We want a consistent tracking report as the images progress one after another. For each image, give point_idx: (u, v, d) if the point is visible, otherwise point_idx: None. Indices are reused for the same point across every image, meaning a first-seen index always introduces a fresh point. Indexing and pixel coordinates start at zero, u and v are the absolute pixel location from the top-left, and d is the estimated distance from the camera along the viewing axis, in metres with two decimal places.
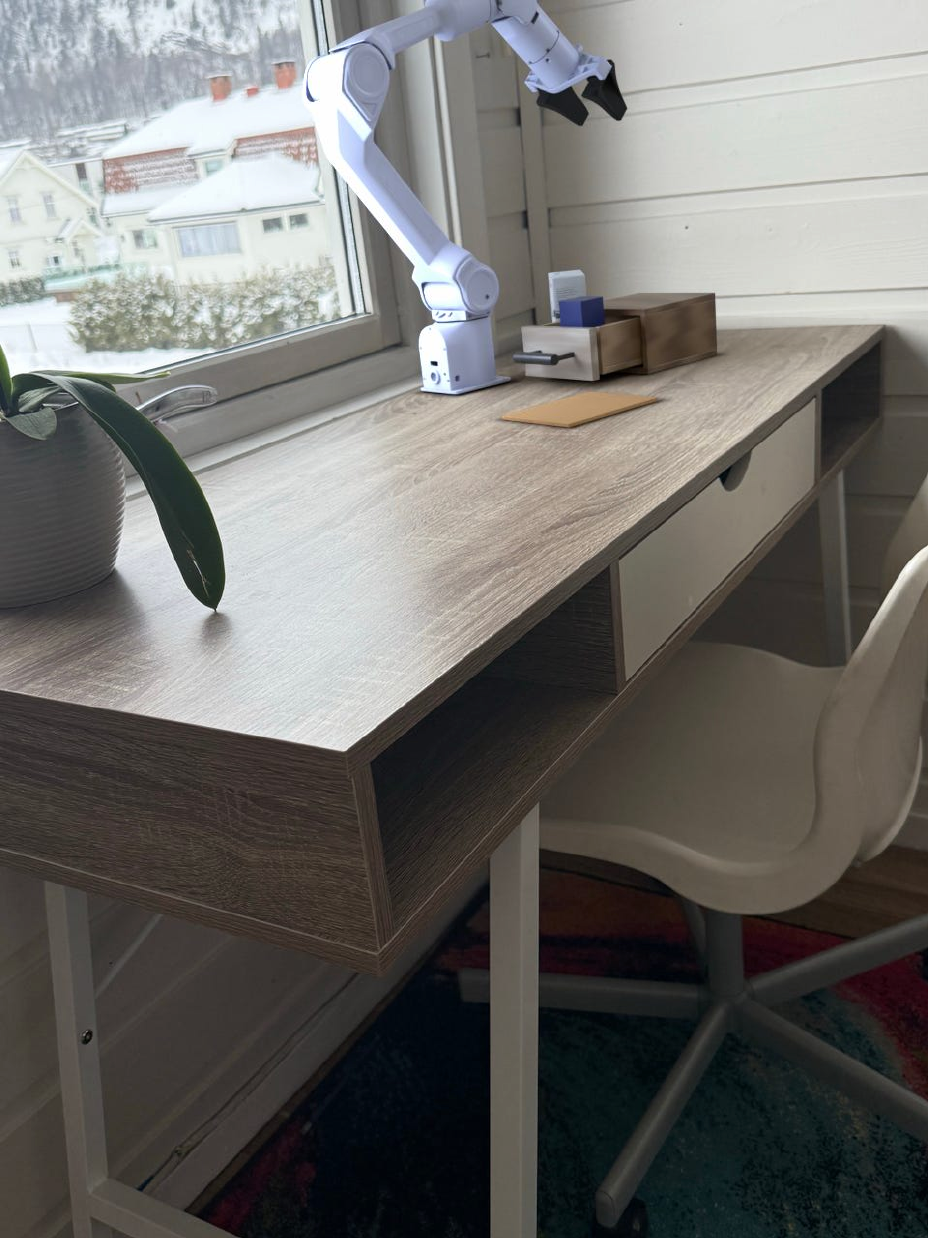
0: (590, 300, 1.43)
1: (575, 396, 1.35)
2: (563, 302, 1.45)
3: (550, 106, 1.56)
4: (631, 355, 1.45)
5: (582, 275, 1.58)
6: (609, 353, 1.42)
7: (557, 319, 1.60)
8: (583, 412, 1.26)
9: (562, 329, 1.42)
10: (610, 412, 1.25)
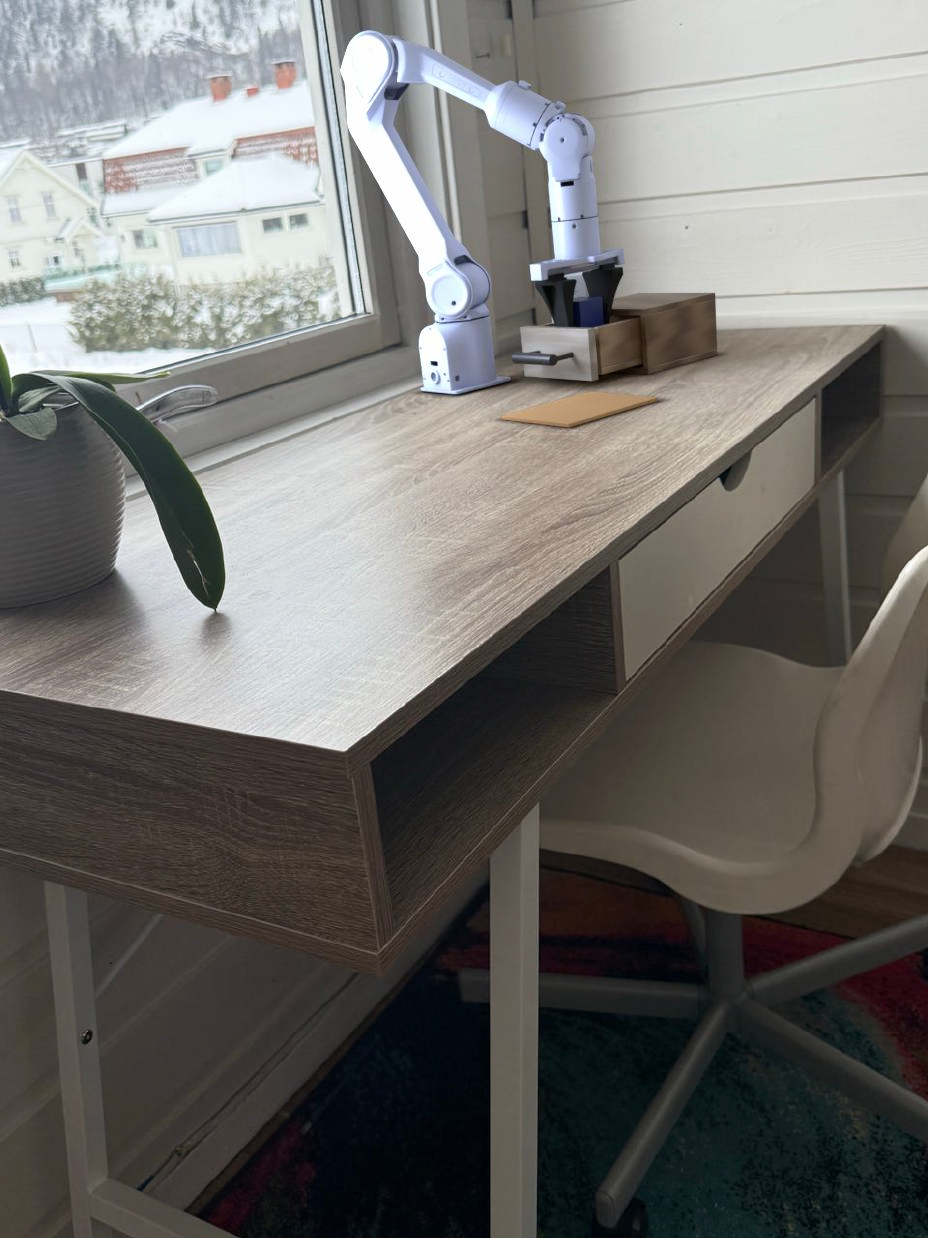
0: (589, 300, 1.43)
1: (575, 396, 1.35)
2: None
3: None
4: (630, 355, 1.45)
5: None
6: (607, 353, 1.42)
7: None
8: (583, 412, 1.26)
9: (561, 329, 1.42)
10: (610, 412, 1.25)
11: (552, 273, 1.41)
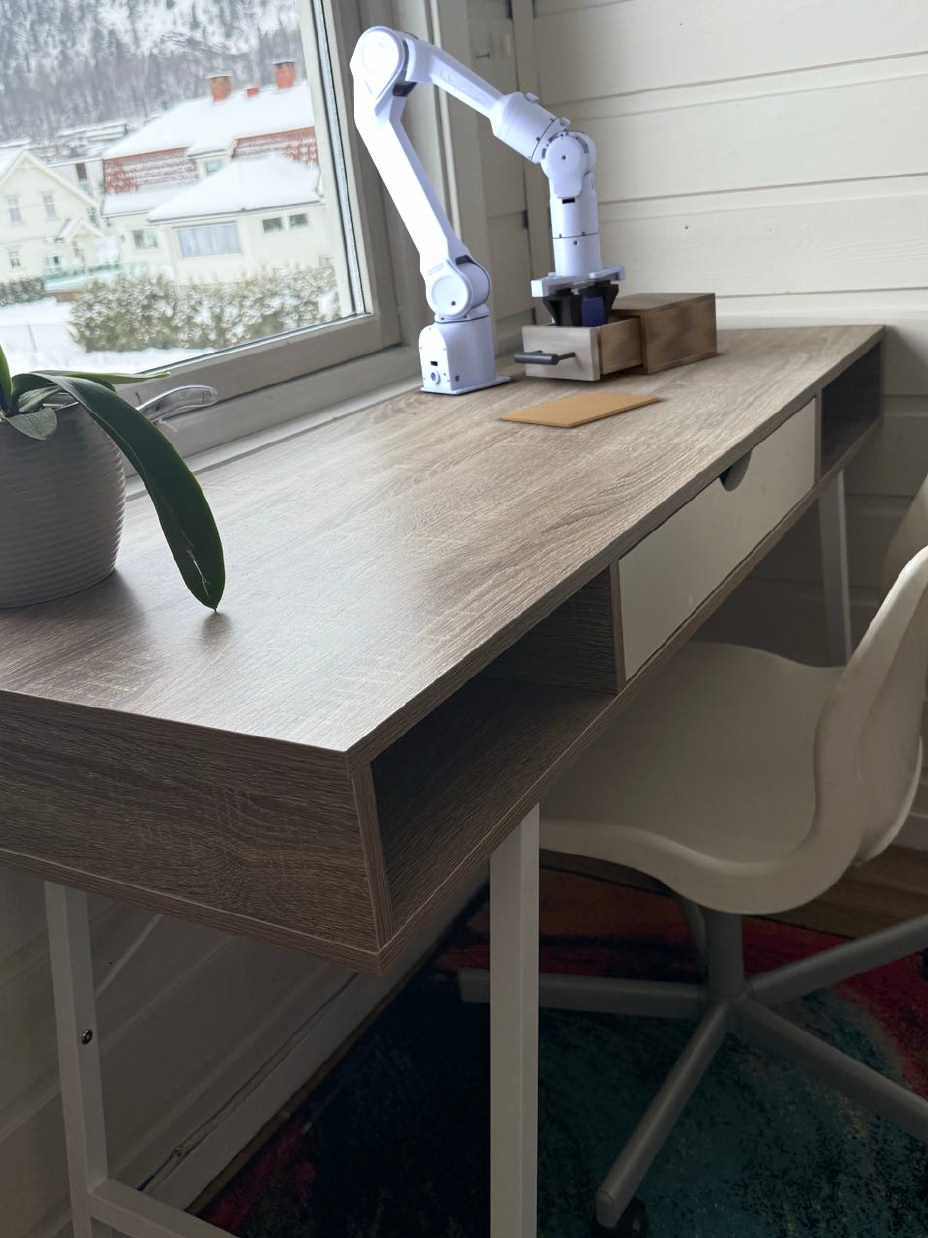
0: (590, 300, 1.43)
1: (575, 396, 1.35)
2: None
3: None
4: (631, 355, 1.45)
5: None
6: (609, 352, 1.42)
7: None
8: (583, 412, 1.26)
9: (563, 329, 1.42)
10: (610, 412, 1.25)
11: (559, 288, 1.42)
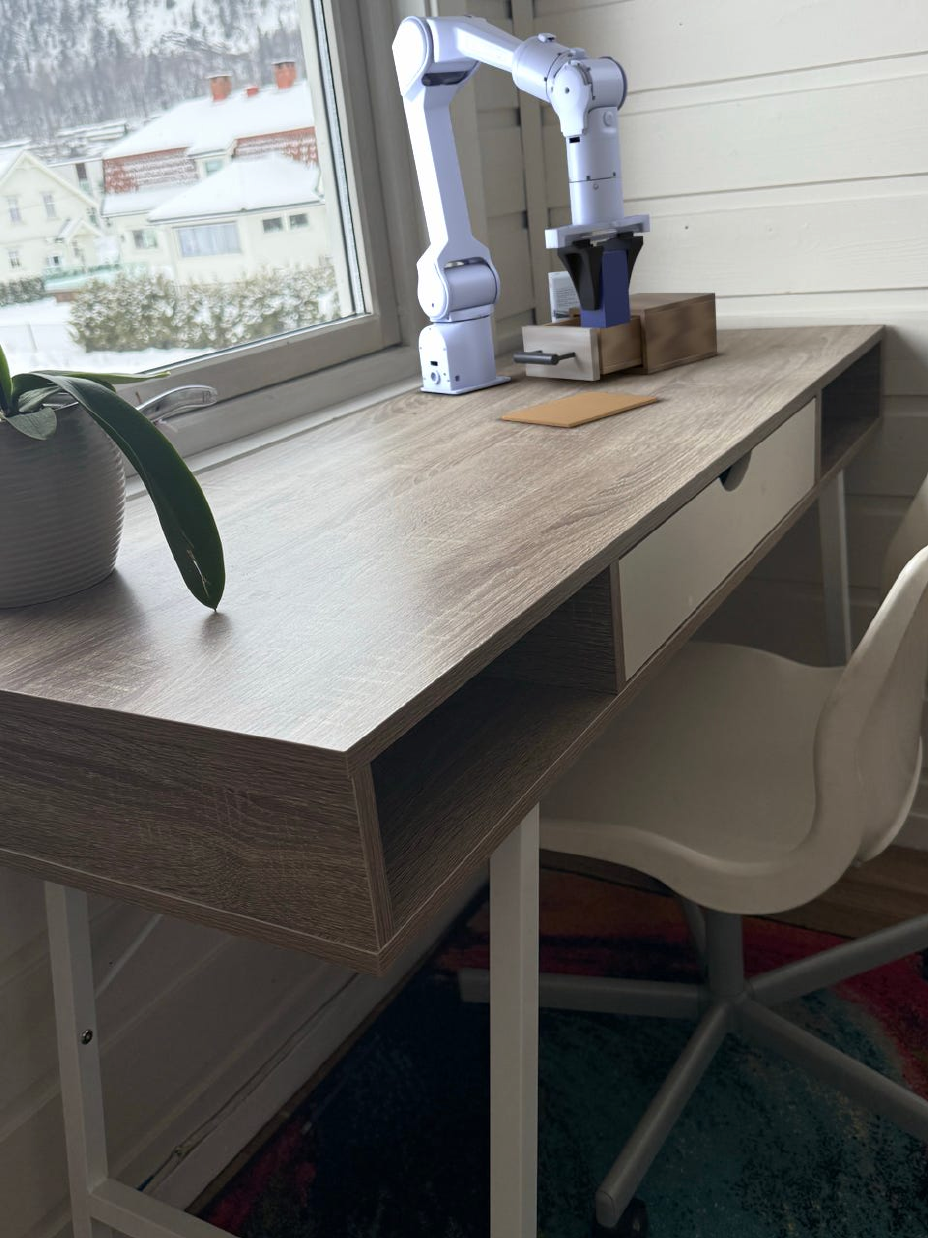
0: (612, 253, 1.27)
1: (575, 396, 1.35)
2: None
3: None
4: (631, 355, 1.45)
5: None
6: (609, 352, 1.42)
7: (557, 319, 1.60)
8: (583, 412, 1.26)
9: (563, 329, 1.42)
10: (610, 412, 1.25)
11: (577, 239, 1.25)
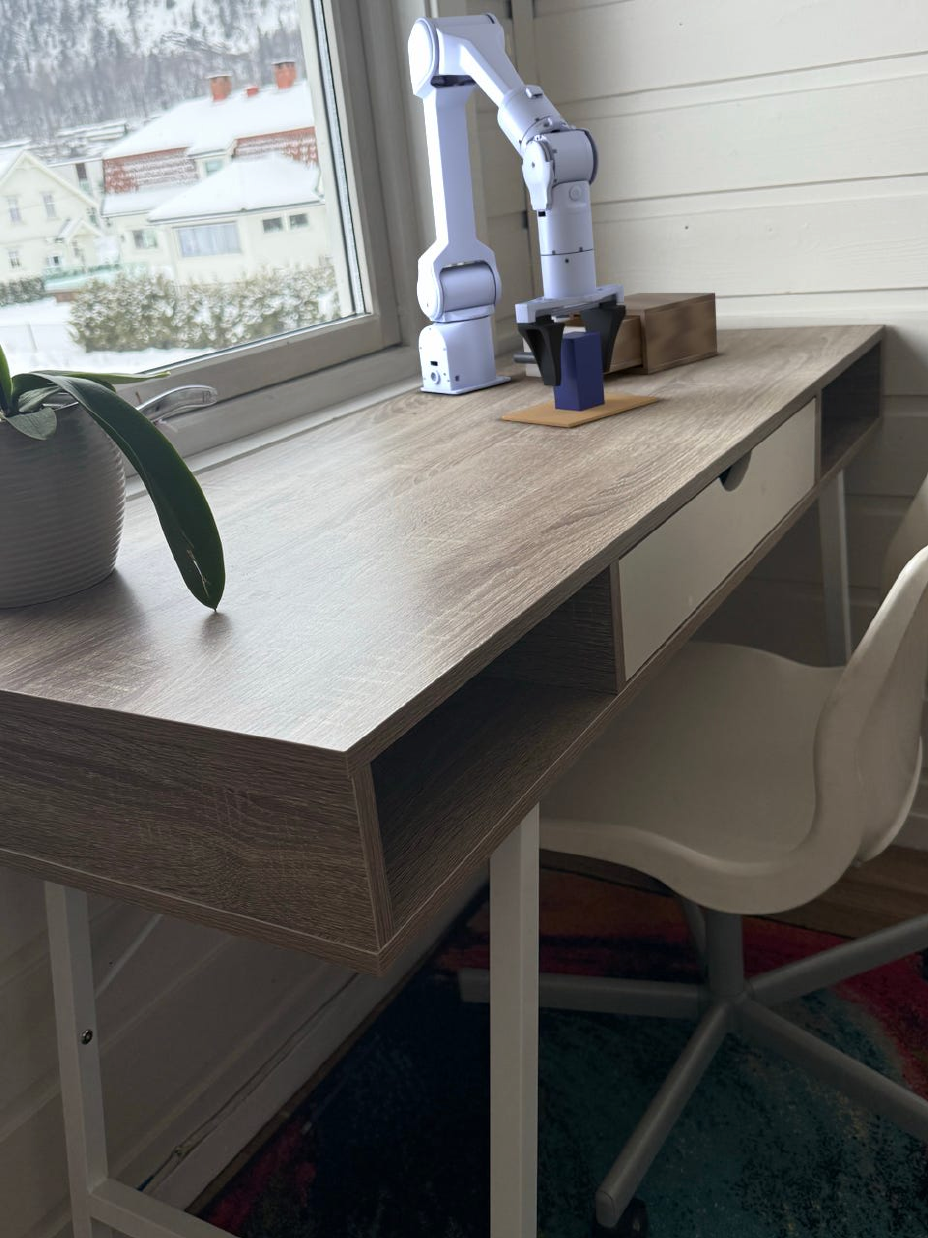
0: (585, 337, 1.25)
1: None
2: None
3: None
4: (631, 355, 1.45)
5: None
6: None
7: (557, 319, 1.60)
8: (583, 412, 1.26)
9: None
10: (610, 412, 1.25)
11: (537, 315, 1.22)
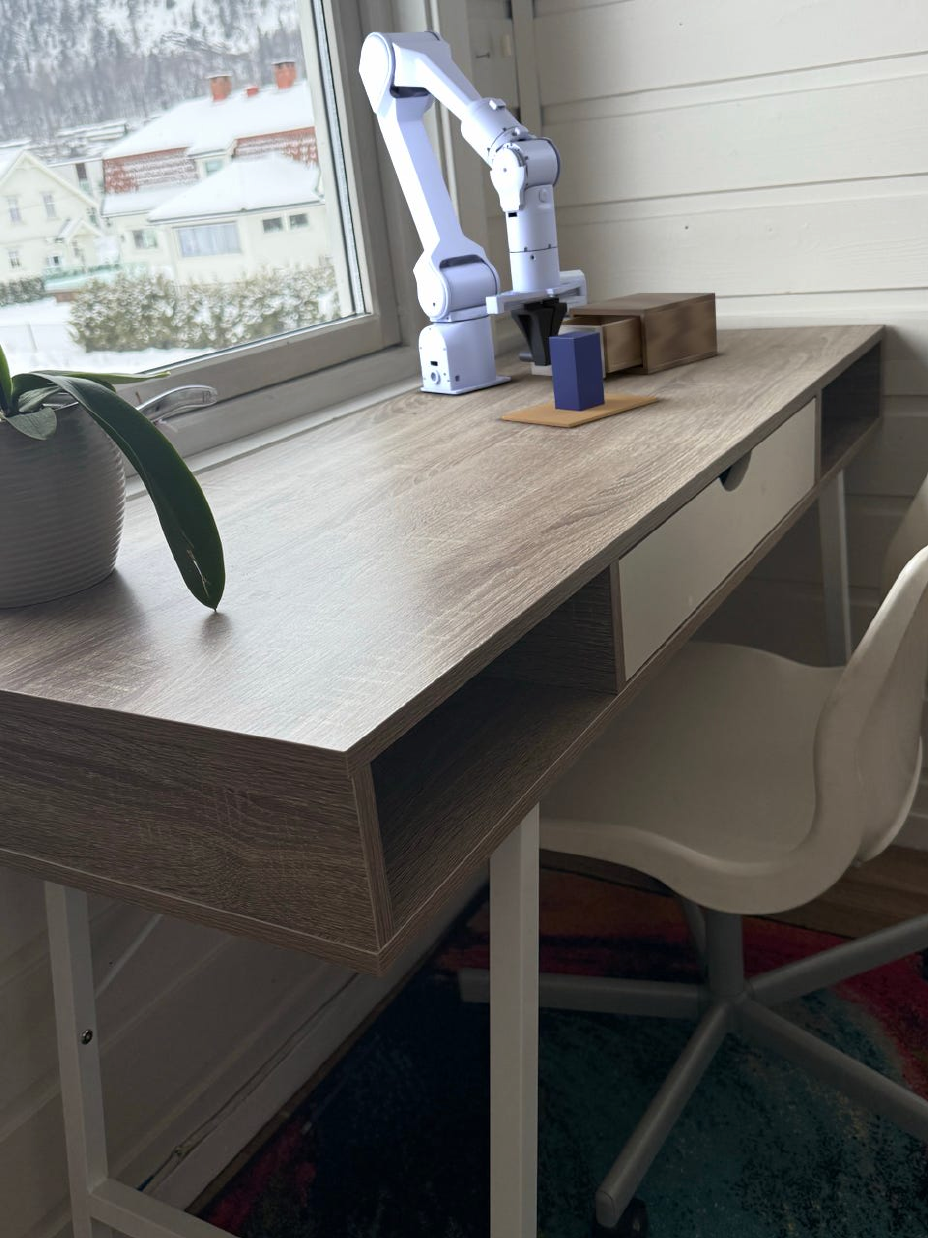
0: (585, 337, 1.25)
1: None
2: (554, 339, 1.26)
3: None
4: (637, 354, 1.45)
5: (582, 275, 1.58)
6: (614, 351, 1.43)
7: None
8: (583, 412, 1.26)
9: (568, 328, 1.43)
10: (610, 412, 1.25)
11: (528, 302, 1.37)
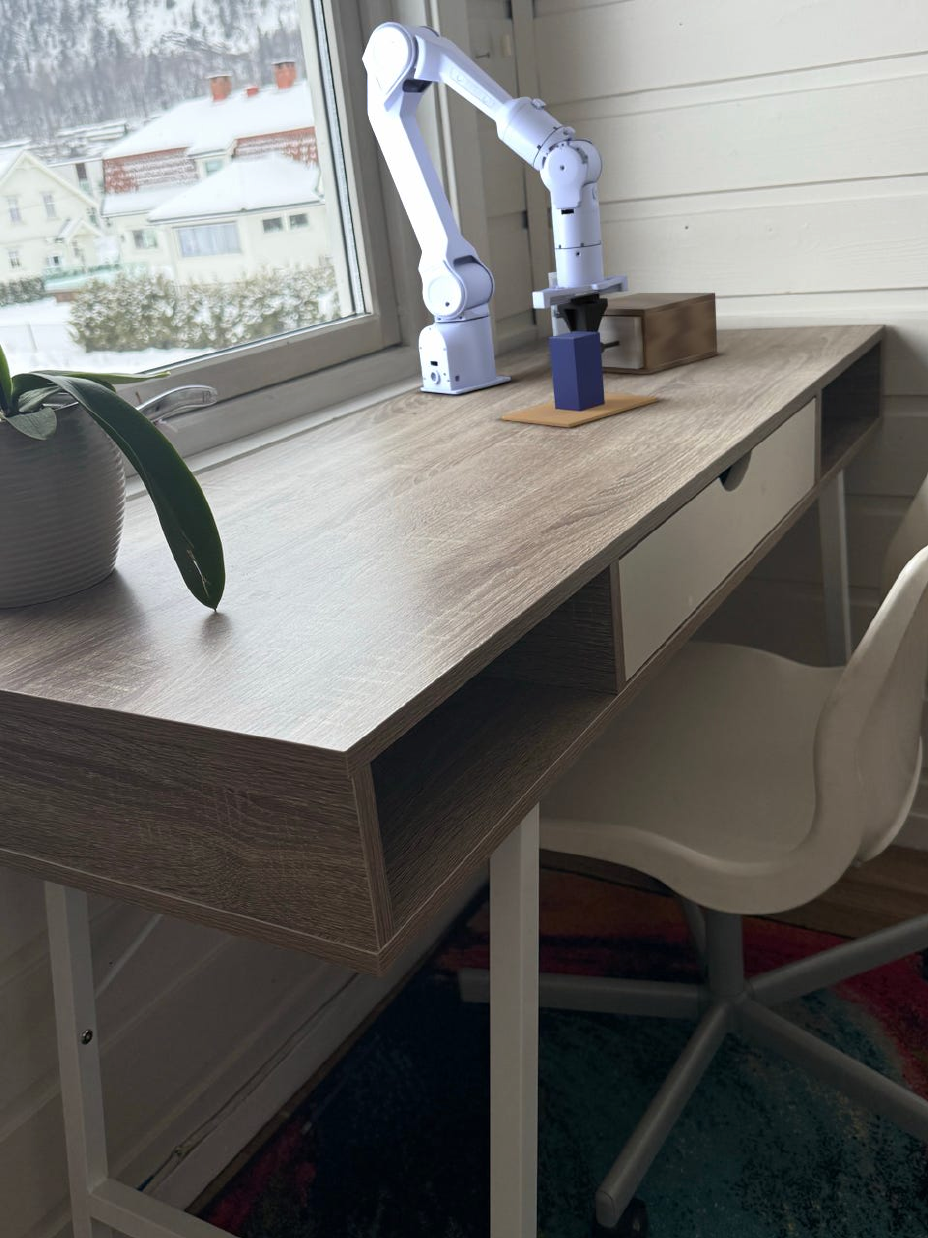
0: (585, 337, 1.25)
1: None
2: (554, 339, 1.26)
3: None
4: None
5: None
6: None
7: (557, 319, 1.60)
8: (583, 412, 1.26)
9: (607, 318, 1.46)
10: (610, 412, 1.25)
11: (574, 297, 1.41)
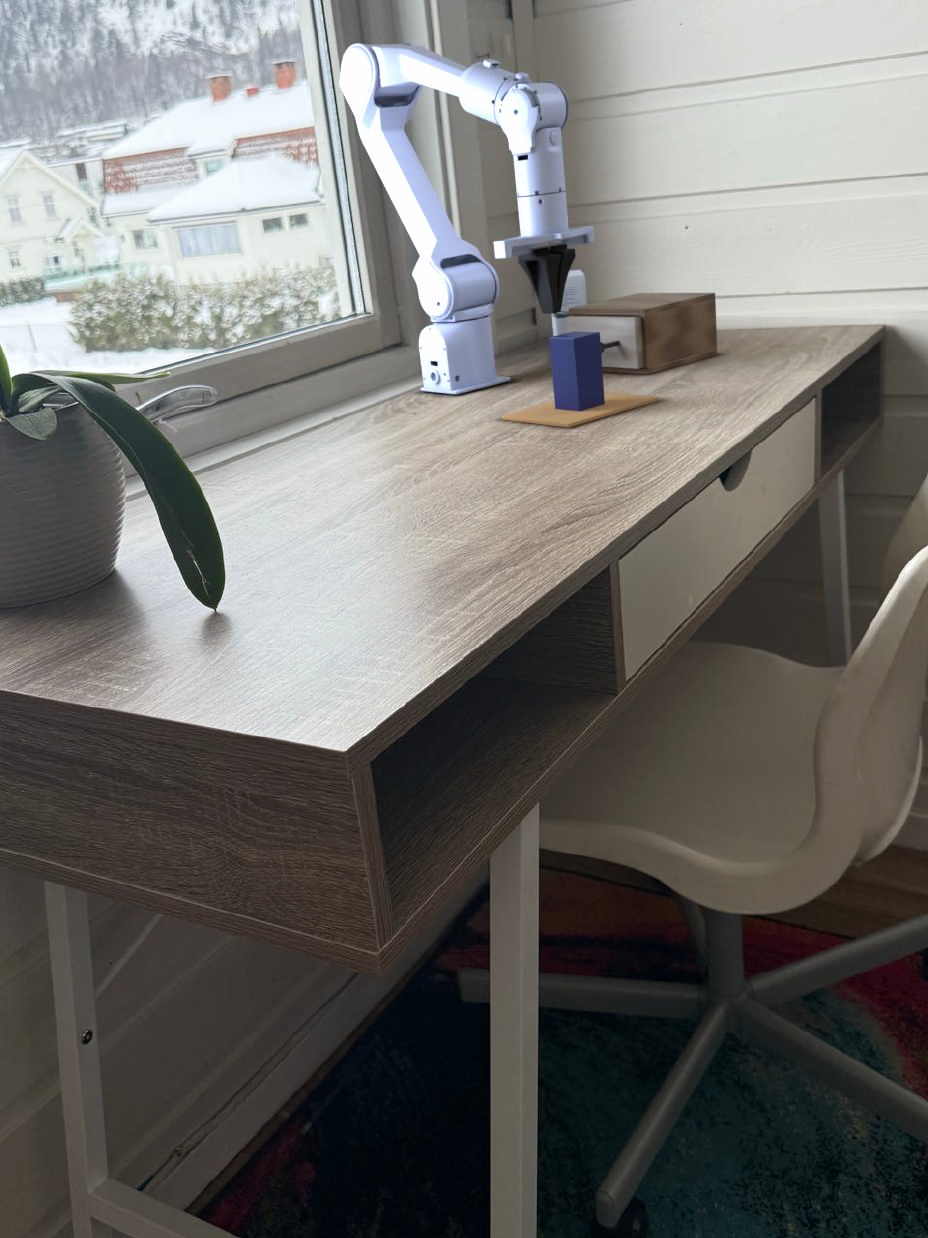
0: (585, 337, 1.25)
1: None
2: (554, 339, 1.26)
3: None
4: None
5: (582, 275, 1.58)
6: None
7: (557, 319, 1.60)
8: (583, 412, 1.26)
9: (607, 318, 1.46)
10: (610, 412, 1.25)
11: (536, 247, 1.36)
